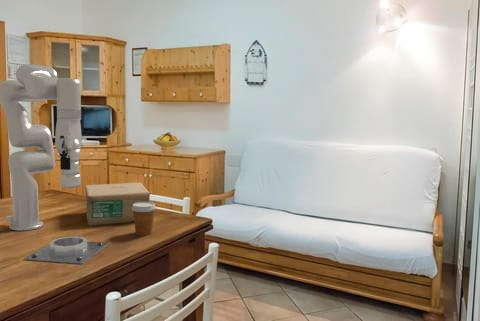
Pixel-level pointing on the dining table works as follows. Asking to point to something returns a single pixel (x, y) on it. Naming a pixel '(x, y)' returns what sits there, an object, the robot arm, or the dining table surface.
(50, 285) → the dining table surface
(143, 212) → the disposable coffee cup
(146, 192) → the paper package
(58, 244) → the duct flange
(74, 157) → the plastic bottle
